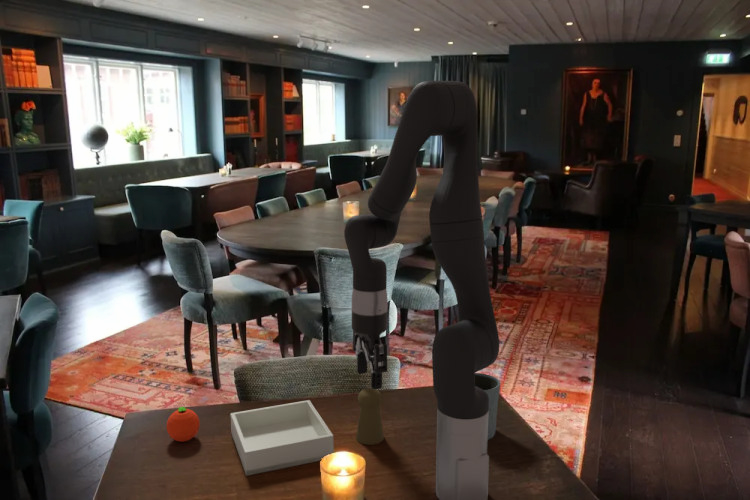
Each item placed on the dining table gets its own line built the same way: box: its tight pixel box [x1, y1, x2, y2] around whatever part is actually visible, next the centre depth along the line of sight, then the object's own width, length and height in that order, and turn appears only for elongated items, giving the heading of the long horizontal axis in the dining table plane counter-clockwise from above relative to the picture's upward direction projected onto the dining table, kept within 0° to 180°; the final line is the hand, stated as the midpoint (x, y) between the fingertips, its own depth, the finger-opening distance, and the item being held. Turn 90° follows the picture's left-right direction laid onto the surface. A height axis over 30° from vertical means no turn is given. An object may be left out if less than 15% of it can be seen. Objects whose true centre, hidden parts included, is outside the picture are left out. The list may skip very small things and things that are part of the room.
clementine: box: [166, 406, 201, 442], centre depth 137 cm, size 8×7×7 cm
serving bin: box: [230, 399, 335, 477], centre depth 134 cm, size 18×18×5 cm
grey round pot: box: [475, 372, 501, 441], centre depth 139 cm, size 10×10×12 cm
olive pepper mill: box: [355, 388, 385, 446], centre depth 137 cm, size 6×6×11 cm
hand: (369, 380), depth 135 cm, fingers open, 8 cm apart
